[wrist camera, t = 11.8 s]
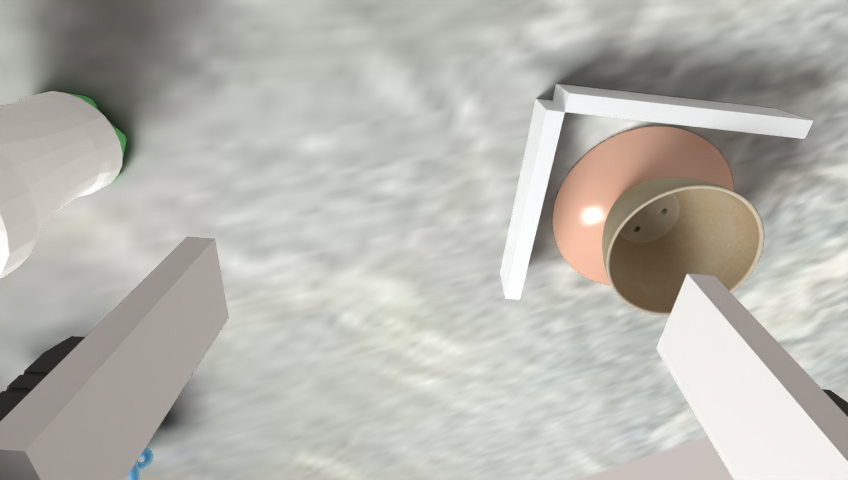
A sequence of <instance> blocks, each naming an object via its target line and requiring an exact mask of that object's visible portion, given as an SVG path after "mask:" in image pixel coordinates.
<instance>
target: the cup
mask: <svg viewBox="0 0 848 480" xmlns="http://www.w3.org/2000/svg"><path fill="white" fill-rule="evenodd" d="M126 142H127V140H126V137H125V135H124V134H123V133H122V132H121V131H120V130H119V129H116V128H115V127H114V126H113V125H112V124H111V123H110V122H109V121H108V120H107V119H106V117H105V116H104V115H103V114H102V113H101V112H100V111H99V110H98V108H97V105H96V104H95V102H94V101H93V99H91V98H89V97H87V96H82V95H76V94H69V93H62V92H55V91H50V92H45V93H41V94H36V95H32V96H28V97H24V98H22V99H20V100H19V101H17V102H15V103H12V104H6V105H0V279H1V278H3V277H4V276H6V275H7V274H9V273H10V272H12V271H13V270H15V269H16V268H18V267H19V266H20V265H21V264H22V263H23V262H24V260H25V259H26V258H27V257H28V256H29V255H30V254H31V252H32V251H33V249H34V247H35V244H36V242H37V239H38V237H39V235H40V232H41V230H42V229H43V227H44V226H45V224H46V223H47V222H48V221H49V220H50V219H51V217H52V216H53V215H54V214H55V213H56V212H58V211H59V210H60V209H61V208H63V207H64V206H65V205H67V204H68V203H69V202H71V201H72V200H74V199H75V198H77V197H79V196H83V195H88V194H91V193H93V192H95V191H97V190H99V189H101V188H102V187H104V186H106V185H108V184H110V183H111V182H113V181H114V180H116V179H117V178H118V176H119V173H120V170H121V168H122V159H123V155H124V149H125V145H126Z"/></svg>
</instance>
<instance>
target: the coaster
mask: <svg viewBox="0 0 848 480" xmlns="http://www.w3.org/2000/svg"><path fill="white" fill-rule="evenodd" d="M666 177H684V178H693V179H699V180H703V181H708V182H711V183H715V184H718V185H720V186H723V187H726V188H728V189H730V190H732V191H734V186H733V179H732V175H731V171H730V169H729V166H728V164H727V162H726V160H725V159H724V157H723V156H722V154H721V153H720V152H719V151H718V150H717V149H716V148H715V147H714V145H712V144H711V143H710V142H708V141H707V140H706V139H704V138H702V137H700V136H698V135H696V134H694V133H692V132H690V131H687V130H684V129H681V128H675V127H670V126H649V127H641V128H636V129H631V130H628V131H625V132H622V133H619V134H617V135H615V136H613V137H611V138H608V139H606V140H605V141H603V142H602V143H600V144H598V145H597V146H595V147H594V148H593V149H591V150H590V151H589V152H587V153H586V154H585V155H584V156H583V157H582V158H581V159H580V160H579V161H578V162H577V163H576V164H575V165H574V166H573V168H572V169H571V170H570V171H569V173H568V174H567V176H566V177H565V179H564V181H563V182H562V184H561V186H560V188H559V191H558V193H557V196H556V199H555V202H554V207H553V213H552V226H553V233H554V237H555V241H556V243H557V246H558V248H559V250H560V252H561V254H562V255H563V257H564V258H565V260H566V261H567V262H568V263H569V264H570V266H571V267H572V268H574V269H575V270H576V271H577V272H578V273H580V274H581V275H583V276H585V277H586V278H588V279H591V280H593V281H595V282H598V283H601V284H605V285H610V282H609V280H608V277H607V274H606V270H605V266H604V261H603V254H602V236H603V230H604V225H605V221H606V218H607V216H608V214H609V211H610V209H611V207H612V206H613V204H614V203H615V201H616V200H617V199H618V198H619V197H620V196H621V195H622V194H623V193H624V192H625V191H626V190H628V189H630V188H631V187H633V186H635V185H637V184H639V183H642V182H645V181H648V180H652V179H657V178H666ZM663 210H665V209H663ZM639 228H640V227H639ZM639 228H637V231H638V230H639ZM610 286H611V285H610Z"/></svg>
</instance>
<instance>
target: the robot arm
mask: <svg viewBox="0 0 848 480" xmlns="http://www.w3.org/2000/svg"><path fill="white" fill-rule="evenodd" d="M228 318H229V317H228V311H227V305H226V300H225V294H224V288H223V283H222V277H221V271H220V266H219V260H218V254H217V249H216V243H215V239H211V238H198V237H186V238H185V239H184V240H183V241H182V242H181V243H180V244H179V245H178V246H177V247H176V248H175V249H174V250H173V251H172V252H171V253H170V254H169V255H168V256H167V257H166V258H165V259H164V260H163V261H162V262H161V263H160V264H159V265H158V266H157V267H156V268H155V269H154V270H153V271H152V272H151V273H150V274H149V275H148V276H147V277H146V278H145V279H144V280H143V281H142V282H141V283H140V284H139V285H138V286H137V287H136V288H135V289H134V290H133V291H132V292H131V293H130V294H129V295H128V296H127V297H126V298H125V299H124V300H123V301H122V302H121V303H120V304H119V305H118V306H117V307H116V308H115V309H114V310H113V311H112V312H111V313H110V314H109V315H108V316H107V317H105V318H104V319H103V320H102V321H101V322H100V323H99V324H98V325H97V326H96V327H95V328H94V329H93V330H92V331H91V332H90V333H89V334H88V335H87V336H86V337H74V336H72V337H70V338H68V339H66V340H65V341H63V342H61V343H59V344H58V345H56V346H54V347H53V348H51V349H49V350H47V351H46V352H44V353H43V354H42V355H41V356H40V357H39V358H38V359H37V360H36V361H35V362H34V363H32V364H31V365H30V366H29V367H28V368H27V369H26V370H25V371H24V374H23V375H19V376H18V377H17V378H16V379H15V380H14V381H13V382H12V383H11V384H10V385H9V386H8V387H7V390H6V391H2V392H1V393H0V480H125V479H126V477H127V476H128V474H129V473H130V471H131V470H132V468H133V466H134V465H135V463H136V462H137V460H138V459H139V457H140V456H141V454H142V452H143V451H144V449H145V448H146V446H147V445H148V443H149V441H150V440H151V438H152V437H153V435H154V434H155V432H156V431H157V429H158V427H159V426H160V424H161V423H162V421H163V420H164V418H165V416H166V415H167V413H168V412H169V410H170V409H171V407H172V405H173V404H174V402H175V401H176V399H177V398H178V396H179V395H180V393H181V391H182V390H183V388H184V387H185V385H186V384H187V382H188V380H189V379H190V377H191V376H192V374H193V373H194V371H195V369H196V368H197V366H198V365H199V363H200V362H201V360H202V359H203V357H204V355H205V354H206V352H207V351H208V349H209V348H210V346H211V344H212V343H213V341H214V340H215V338H216V337H217V335H218V333H219V332H220V330H221V329H222V327H223V326H224V324H225V323H226V321H227V319H228ZM656 349H657V351H658V353H659V354H660V356H661V358H662V359H663V361H664V363H665V364H666V366H667V368H668V369H669V371H670V373H671V374H672V376H673V378H674V380H675V381H676V383H677V385H678V386H679V388H680V390H681V391H682V393H683V395H684V396H685V398H686V400H687V402H688V403H689V405H690V407H691V408H692V410H693V412H694V413H695V415H696V417H697V418H698V420H699V422H700V423H701V425H702V427H703V429H704V430H705V432H706V434H707V435H708V437H709V439H710V440H711V442H712V443H713V445H714V447H715V449H716V450H717V452H718V454H719V456H720V457H721V459H722V461H723V462H724V464H725V465H726V467H727V469H728V471H729V472H730V474H731V476H732V477H733V479H734V480H848V403H847V402H846V401H845V400H843V399H842V398H840V397H839V396H838V395H836V394H835V393H833V392H832V391H830V390H823V389H821V388H820V387H819V386H818V385H817V384H816V383H815V382H814V380H813V379H812V378H811V377H810V376H809V375H808V374H807V373H806V372H805V371H804V370H803V369H802V368H801V367H800V366H799V365H798V364H797V362H796V361H795V360H794V359H793V358H792V357H791V356H790V355H789V354H788V353H787V352H786V351H785V350H784V349H783V348H782V347H781V345H780V344H779V343H778V342H777V341H776V340H775V339H774V338H773V337H772V336H771V335H770V334H769V333H768V332H767V331H766V330H765V328H764V327H763V326H762V325H761V324H760V323H759V322H758V321H757V320H756V319H755V318H754V317H753V316H752V315H751V314H750V313H749V312H748V310H747V309H746V308H745V307H744V306H743V305H742V304H741V303H740V302H739V301H738V300H737V299H736V298H735V297H734V296H733V295H732V293H731V292H730V291H729V290H728V289H727V288H726V287H725V286H724V285H723V284H722V283H721V282H720V281H719V280H718V279H717V278H716V277H715V275H701V274H687V275H686V277H685V280H684V282H683V285H682V287H681V290H680V292H679V294H678V297H677V299H676V302H675V304H674V307H673V309H672V311H671V314H670V316H669V319H668V321H667V324H666V326H665V329H664V331H663V333H662V336H661V338H660V341H659V343H658V346H657V348H656Z"/></svg>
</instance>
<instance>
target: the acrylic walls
mask: <svg viewBox="0 0 848 480" xmlns="http://www.w3.org/2000/svg"><path fill="white" fill-rule="evenodd" d="M565 112H569V113H578V114H587V115H596V116H605V117H613V118H622V119H631V120H640V121H649V122H658V123H667V124H676V125H685V126H693V127H702V128H711V129H720V130H729V131H738V132H747V133H756V134H765V135H774V136H782V137H791V138H800V139H805V137H806V135H807V133H808V131H809V129H810V127H811V125H812V123H813V120H810V119H806V118H803V117H800V116H797V115H794V114H791V113H788V112H784V111H781V110H778V109H775V108H767V107H758V106H750V105H741V104H732V103H723V102H714V101H705V100H697V99H688V98H679V97H670V96H661V95H652V94H643V93H635V92H626V91H617V90H608V89H599V88H590V87H582V86H573V85H564V84H556V86H555V90H554V95H553V99H552V101H551V100H542V99H536V101H535V106H534V111H533V116H532V120H531V125H530V130H529V135H528V140H527V145H526V149H525V154H524V159H523V164H522V169H521V173H520V178H519V183H518V188H517V193H516V197H515V202H514V207H513V212H512V217H511V221H510V226H509V231H508V236H507V241H506V246H505V250H504V255H503V260H502V265H501V270H500V276H501V281H502V285H503V290H504V295H505V298H506V299H515V300H520V298H521V293H522V289H523V285H524V281H525V277H526V272H527V268H528V264H529V260H530V256H531V252H532V247H533V243H534V239H535V235H536V231H537V226H538V222H539V218H540V214H541V210H542V206H543V201H544V197H545V193H546V189H547V185H548V180H549V176H550V172H551V168H552V164H553V160H554V155H555V151H556V147H557V143H558V139H559V134H560V130H561V126H562V122H563V118H564V114H565Z"/></svg>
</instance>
